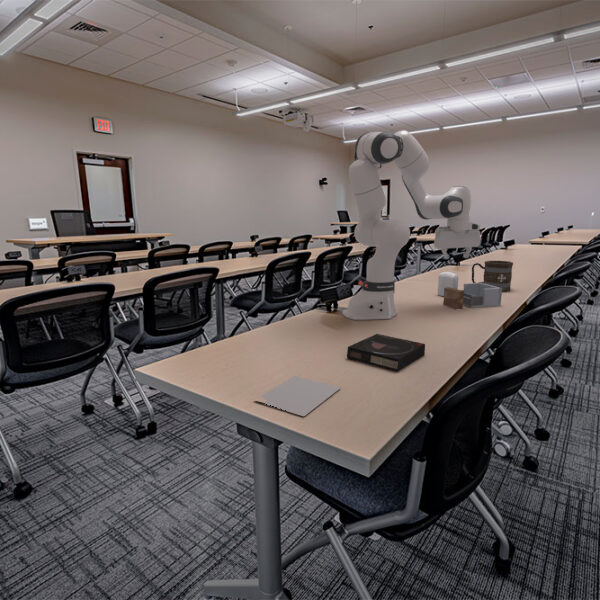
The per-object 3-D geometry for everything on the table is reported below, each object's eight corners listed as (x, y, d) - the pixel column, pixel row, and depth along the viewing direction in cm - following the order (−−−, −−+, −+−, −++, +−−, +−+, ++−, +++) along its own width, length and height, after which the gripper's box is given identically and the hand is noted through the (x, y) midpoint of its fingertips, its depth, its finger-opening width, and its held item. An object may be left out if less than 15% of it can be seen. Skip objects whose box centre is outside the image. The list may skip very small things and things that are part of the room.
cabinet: (470, 308, 176) (471, 290, 174) (450, 301, 190) (451, 284, 189) (500, 305, 179) (502, 288, 178) (478, 299, 194) (480, 282, 192)
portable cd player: (346, 360, 119) (346, 347, 118) (376, 345, 132) (377, 333, 131) (396, 374, 108) (397, 360, 108) (424, 356, 121) (425, 343, 120)
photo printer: (458, 298, 197) (460, 273, 194) (452, 299, 195) (453, 273, 192) (442, 294, 206) (443, 270, 203) (436, 295, 204) (437, 271, 201)
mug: (511, 289, 216) (513, 261, 213) (509, 293, 205) (512, 264, 202) (471, 286, 226) (473, 259, 223) (468, 290, 215) (470, 262, 211)
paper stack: (223, 393, 98) (223, 391, 98) (284, 361, 118) (284, 359, 118) (303, 419, 85) (303, 416, 85) (356, 378, 106) (356, 375, 105)
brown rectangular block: (456, 309, 174) (457, 291, 172) (443, 304, 184) (444, 287, 182) (462, 309, 175) (463, 291, 173) (449, 304, 184) (450, 287, 183)
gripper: (439, 227, 166) (438, 260, 169) (483, 225, 170) (481, 257, 174) (431, 226, 172) (430, 258, 175) (474, 224, 176) (472, 256, 180)
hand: (456, 258), depth 174 cm, fingers open, 8 cm apart
